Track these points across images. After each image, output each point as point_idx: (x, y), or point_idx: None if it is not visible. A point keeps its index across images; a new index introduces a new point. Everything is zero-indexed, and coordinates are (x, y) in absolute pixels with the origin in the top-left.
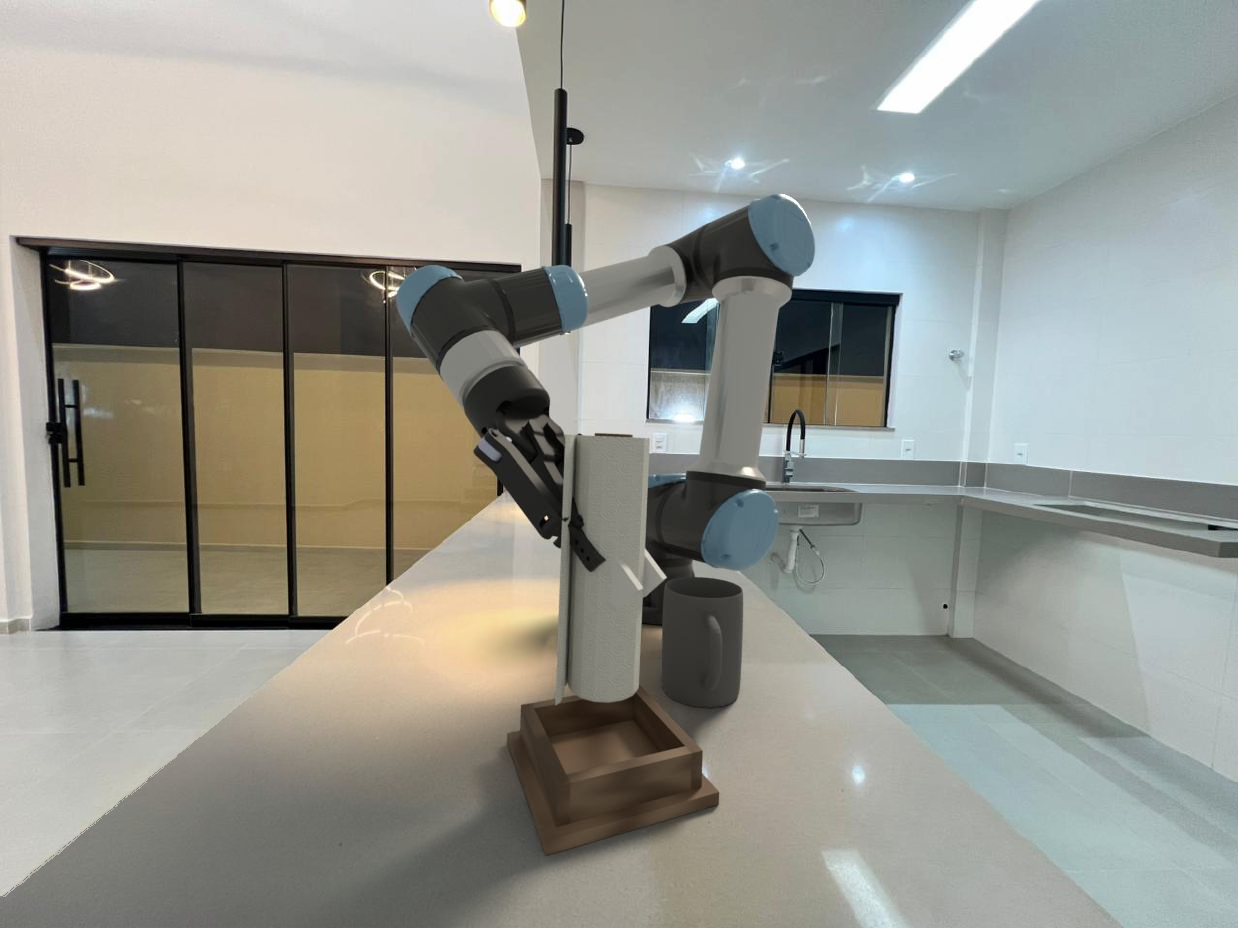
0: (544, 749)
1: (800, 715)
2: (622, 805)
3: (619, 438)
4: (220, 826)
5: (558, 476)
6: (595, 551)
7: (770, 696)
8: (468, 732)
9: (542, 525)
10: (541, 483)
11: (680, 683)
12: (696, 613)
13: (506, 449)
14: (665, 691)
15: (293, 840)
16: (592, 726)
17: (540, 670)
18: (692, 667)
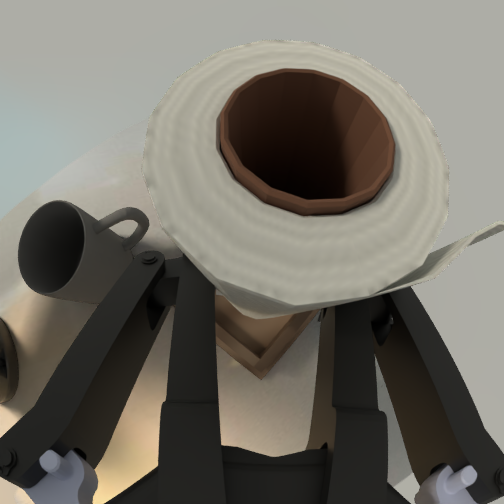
0: (306, 314)
1: (116, 186)
2: None
3: (399, 88)
4: (395, 442)
5: (348, 355)
6: None
7: (96, 212)
8: (263, 413)
9: (390, 319)
10: (421, 337)
11: None
12: (95, 241)
13: (485, 430)
14: None
15: (389, 407)
16: (218, 321)
17: (143, 419)
18: (121, 257)
